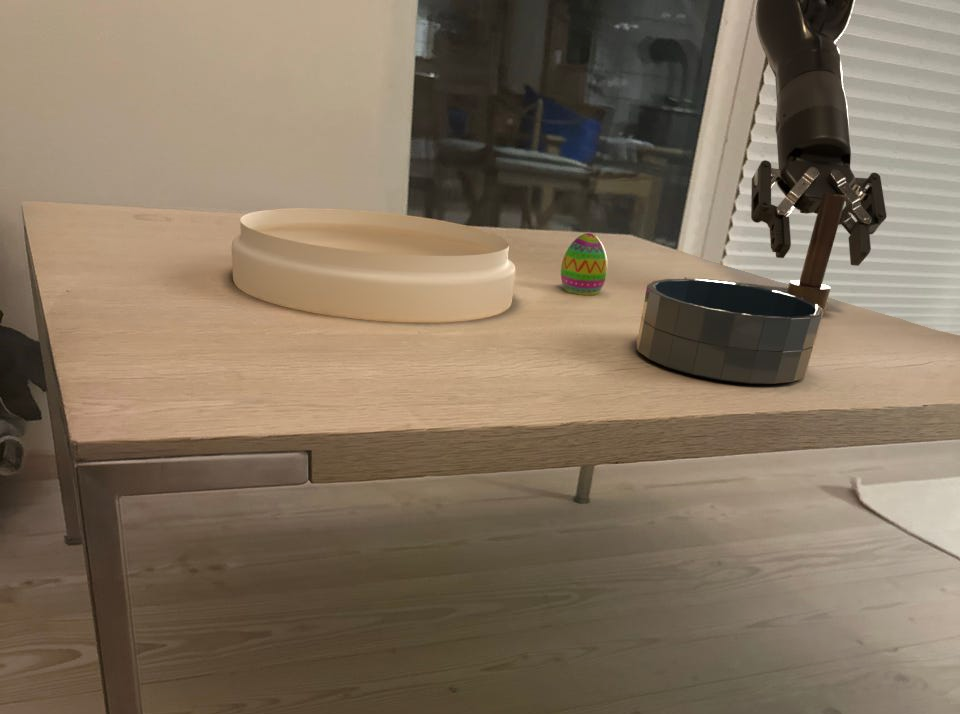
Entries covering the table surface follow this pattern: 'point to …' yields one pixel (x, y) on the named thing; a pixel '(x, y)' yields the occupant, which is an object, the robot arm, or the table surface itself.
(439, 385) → the table surface
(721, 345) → the bowl
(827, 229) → the muddler
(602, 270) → the egg
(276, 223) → the cream round tray
